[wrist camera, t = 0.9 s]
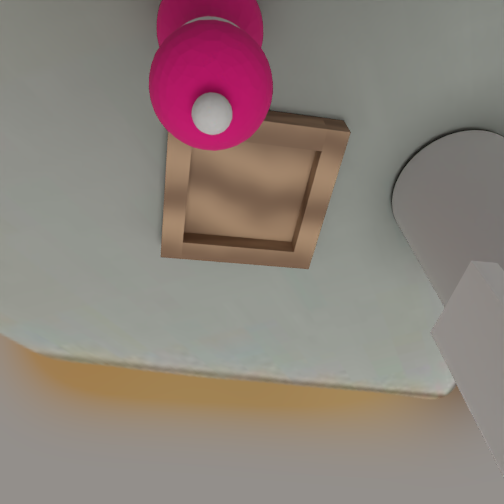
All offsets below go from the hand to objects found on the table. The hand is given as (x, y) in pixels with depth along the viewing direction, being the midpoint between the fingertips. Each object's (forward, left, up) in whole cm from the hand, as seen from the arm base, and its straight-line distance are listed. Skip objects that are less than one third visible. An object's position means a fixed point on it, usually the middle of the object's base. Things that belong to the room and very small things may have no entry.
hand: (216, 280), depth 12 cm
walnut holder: (+14, +5, -30) cm, 33 cm away
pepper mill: (0, 0, -30) cm, 30 cm away
